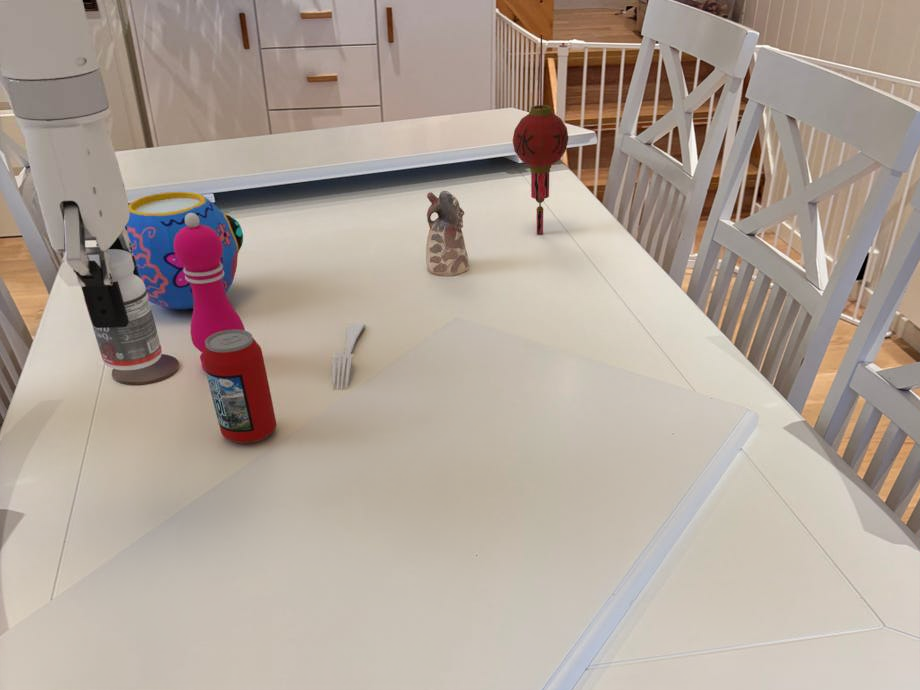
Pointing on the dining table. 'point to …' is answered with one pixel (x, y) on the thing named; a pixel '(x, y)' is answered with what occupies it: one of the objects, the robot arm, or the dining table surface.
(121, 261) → the pill bottle
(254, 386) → the beverage can
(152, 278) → the ceramic pot
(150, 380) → the coaster
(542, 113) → the lantern
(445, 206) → the figurine
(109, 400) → the dining table surface
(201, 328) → the pepper mill
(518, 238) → the dining table surface
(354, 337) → the fork
